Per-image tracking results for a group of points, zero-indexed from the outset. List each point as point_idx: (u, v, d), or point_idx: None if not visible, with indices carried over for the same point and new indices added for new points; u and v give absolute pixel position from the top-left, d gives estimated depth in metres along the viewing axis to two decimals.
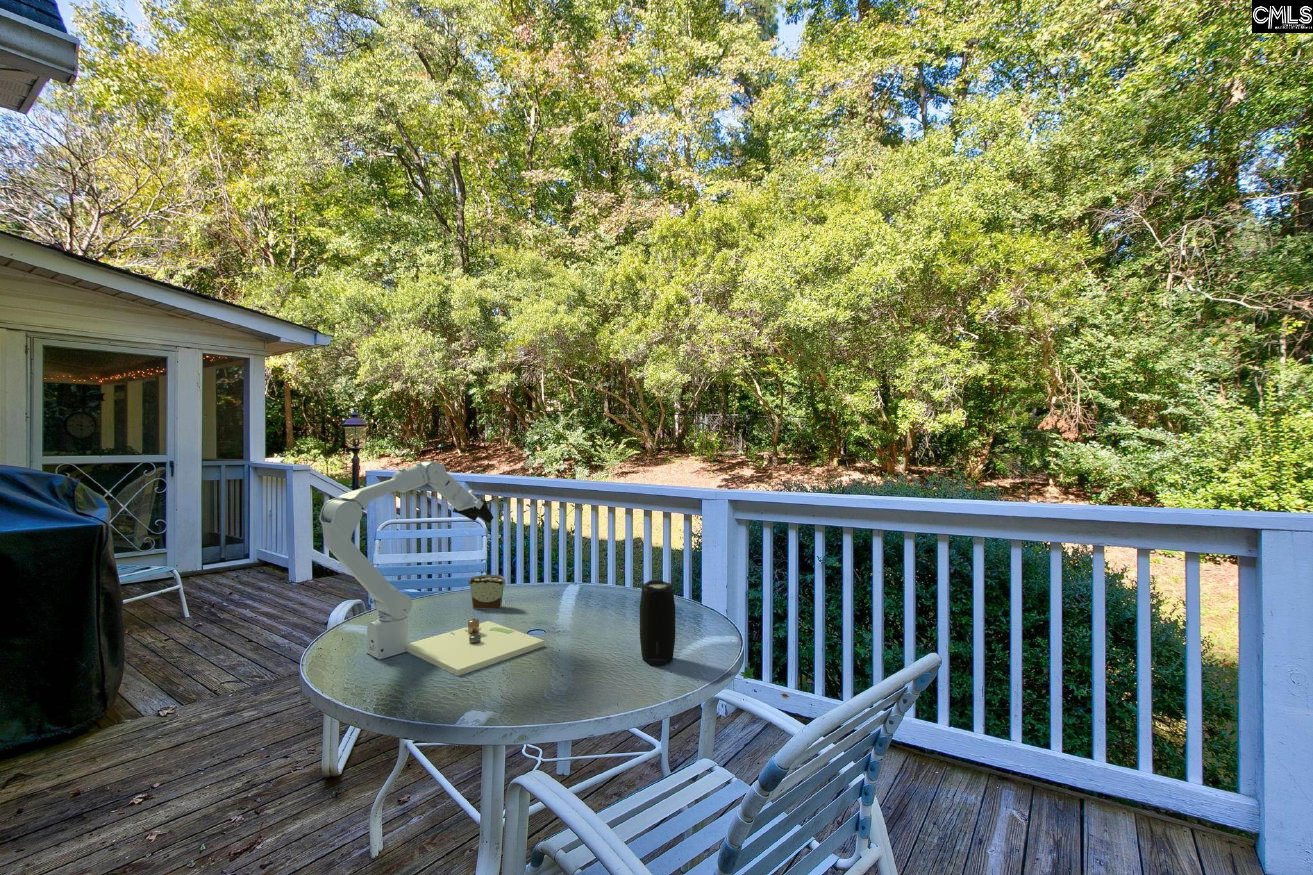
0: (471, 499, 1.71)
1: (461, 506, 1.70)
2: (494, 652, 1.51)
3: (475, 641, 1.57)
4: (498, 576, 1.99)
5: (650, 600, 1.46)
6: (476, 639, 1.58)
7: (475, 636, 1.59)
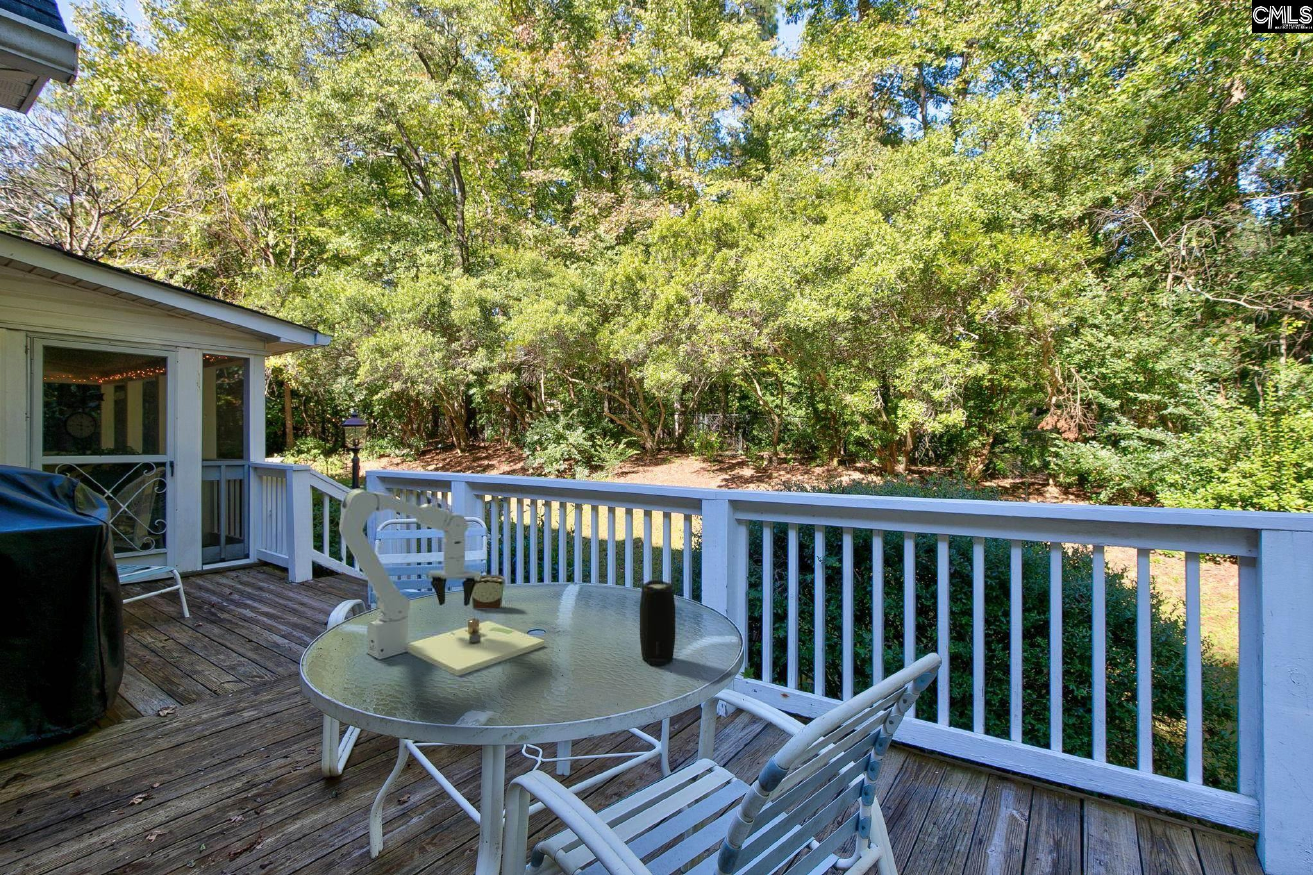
0: None
1: (456, 573, 1.64)
2: (494, 652, 1.51)
3: (475, 641, 1.57)
4: (498, 576, 1.99)
5: (650, 600, 1.46)
6: (476, 639, 1.58)
7: (475, 636, 1.59)
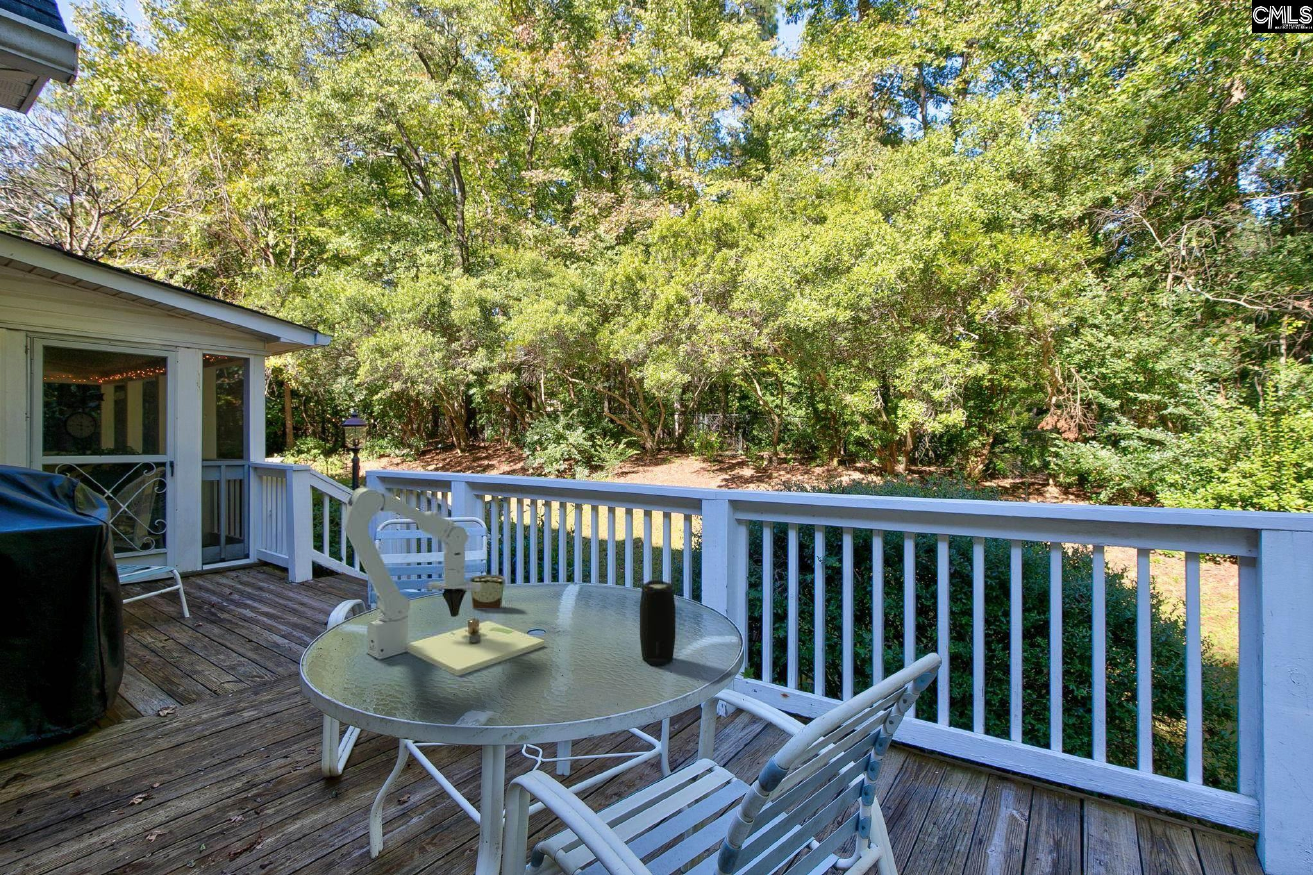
0: None
1: (457, 584, 1.64)
2: (494, 652, 1.51)
3: (475, 641, 1.57)
4: (498, 576, 1.99)
5: (650, 600, 1.46)
6: (476, 639, 1.58)
7: (475, 636, 1.59)
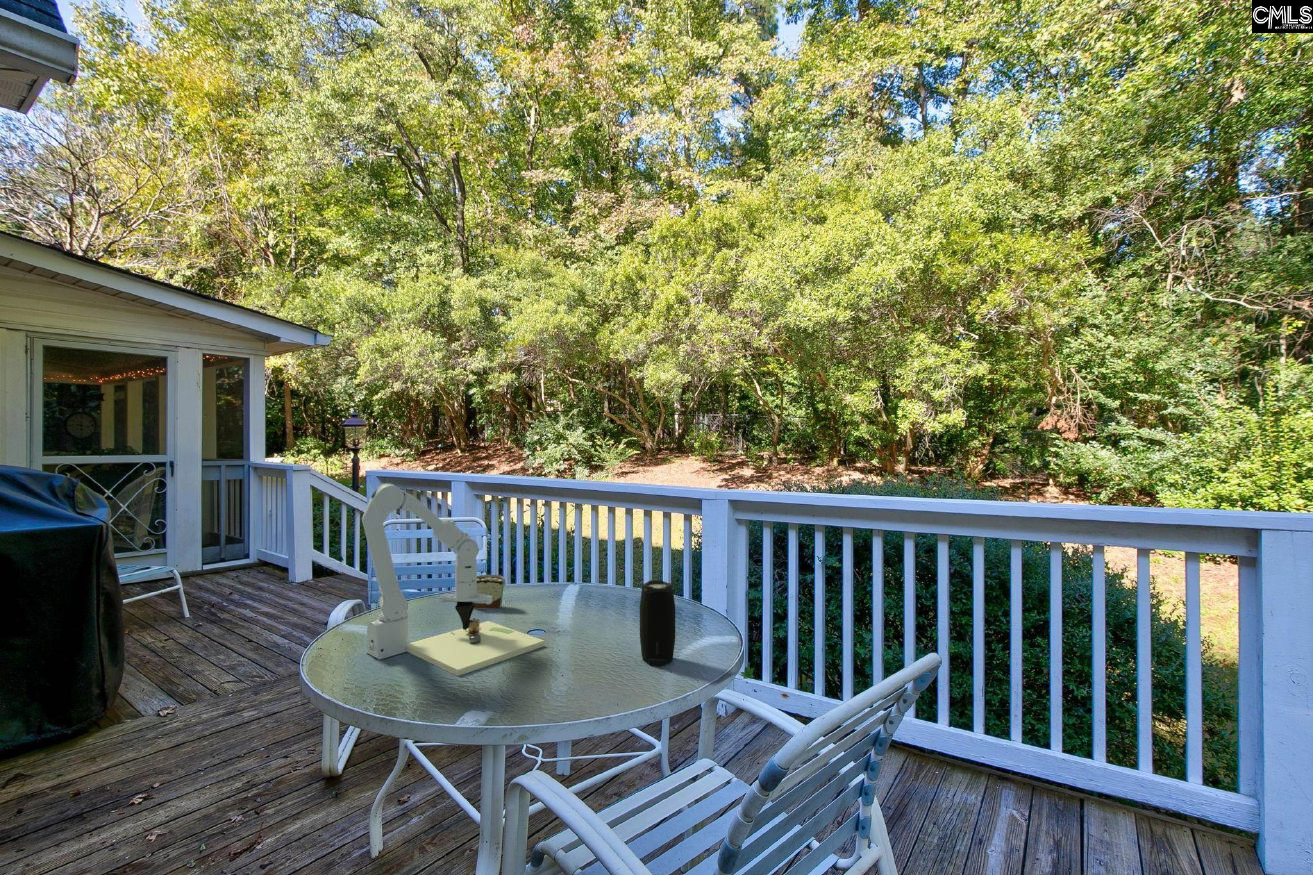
0: (477, 596, 1.67)
1: (468, 597, 1.64)
2: (494, 652, 1.51)
3: (475, 641, 1.57)
4: (498, 576, 1.99)
5: (650, 600, 1.46)
6: (476, 639, 1.58)
7: (475, 636, 1.59)
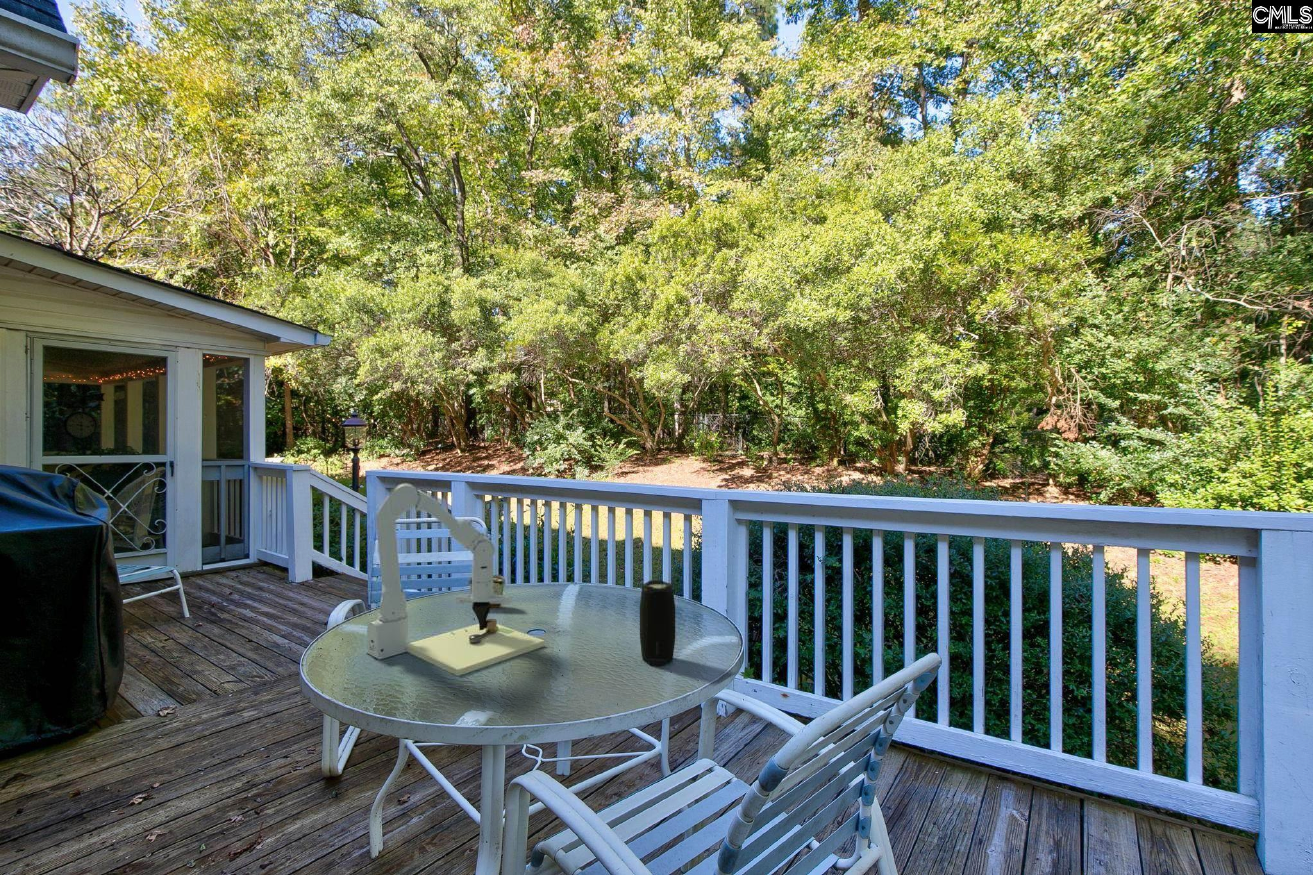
0: None
1: (485, 597, 1.64)
2: (494, 652, 1.51)
3: (471, 641, 1.57)
4: (498, 576, 1.99)
5: (650, 600, 1.46)
6: (472, 639, 1.57)
7: (474, 636, 1.59)
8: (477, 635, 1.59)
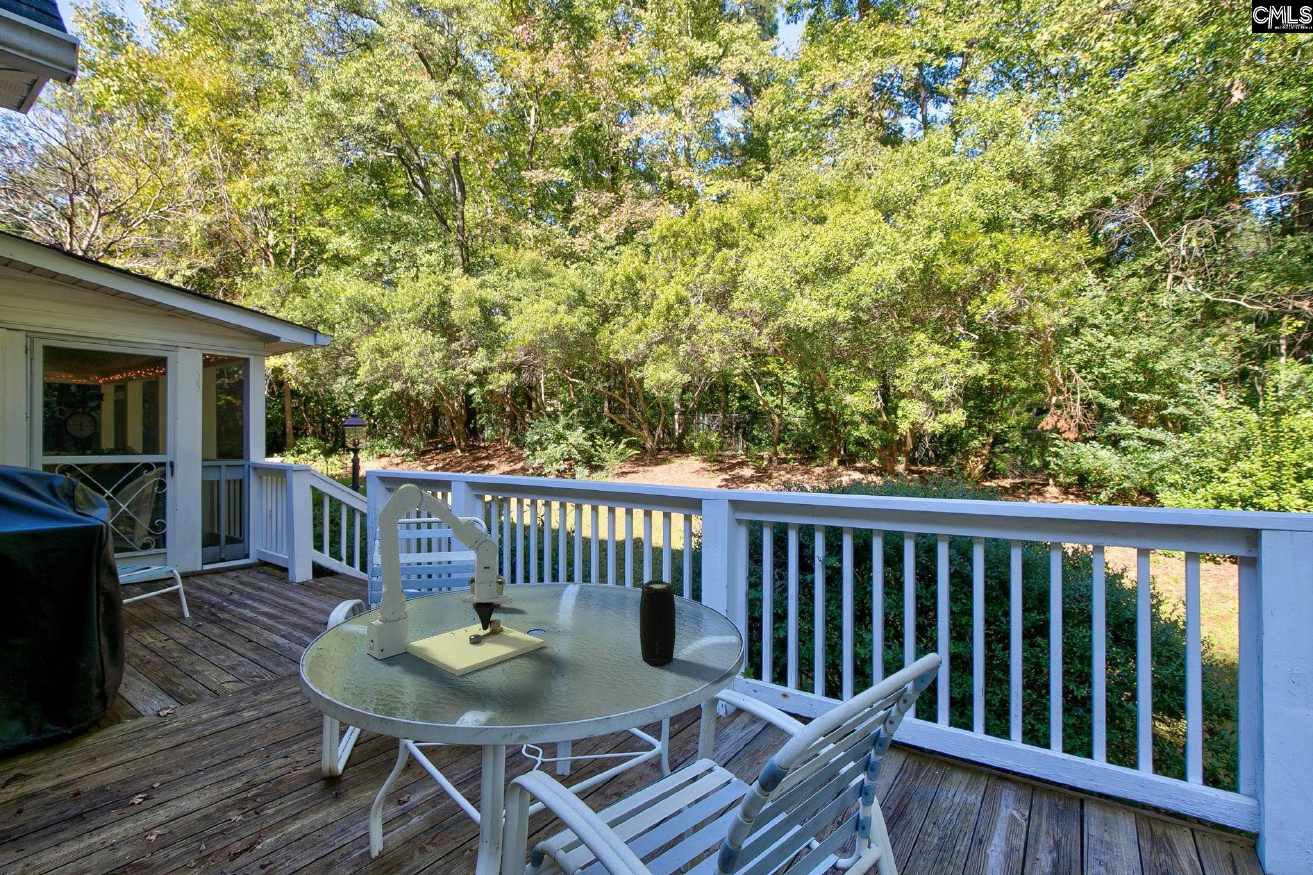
0: (497, 597, 1.67)
1: (488, 598, 1.64)
2: (494, 652, 1.51)
3: (471, 641, 1.57)
4: (498, 576, 1.99)
5: (650, 600, 1.46)
6: (472, 639, 1.57)
7: (474, 636, 1.59)
8: (477, 635, 1.59)
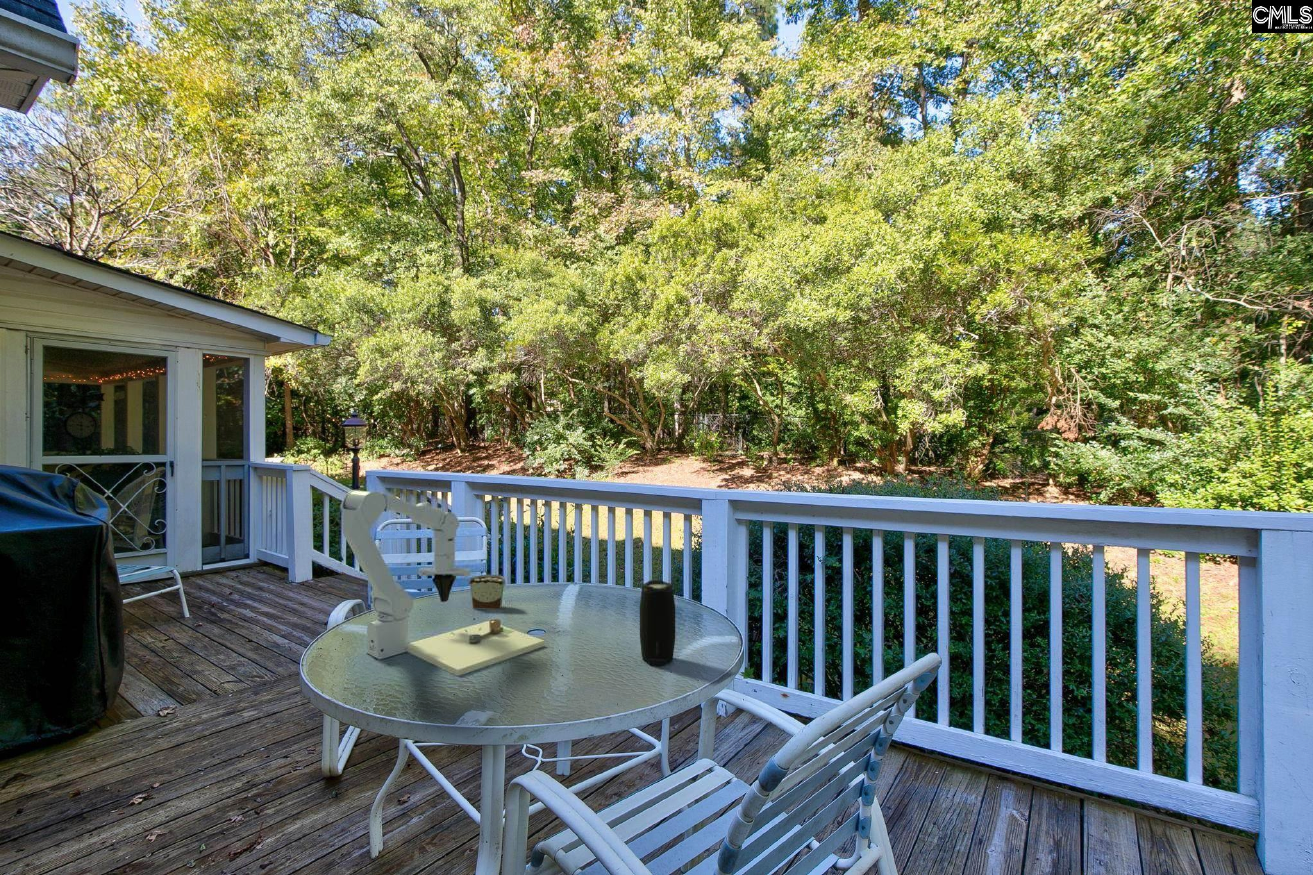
0: None
1: (446, 570, 1.68)
2: (494, 652, 1.51)
3: (471, 641, 1.57)
4: (498, 576, 1.99)
5: (650, 600, 1.46)
6: (472, 639, 1.57)
7: (474, 636, 1.59)
8: (477, 635, 1.59)
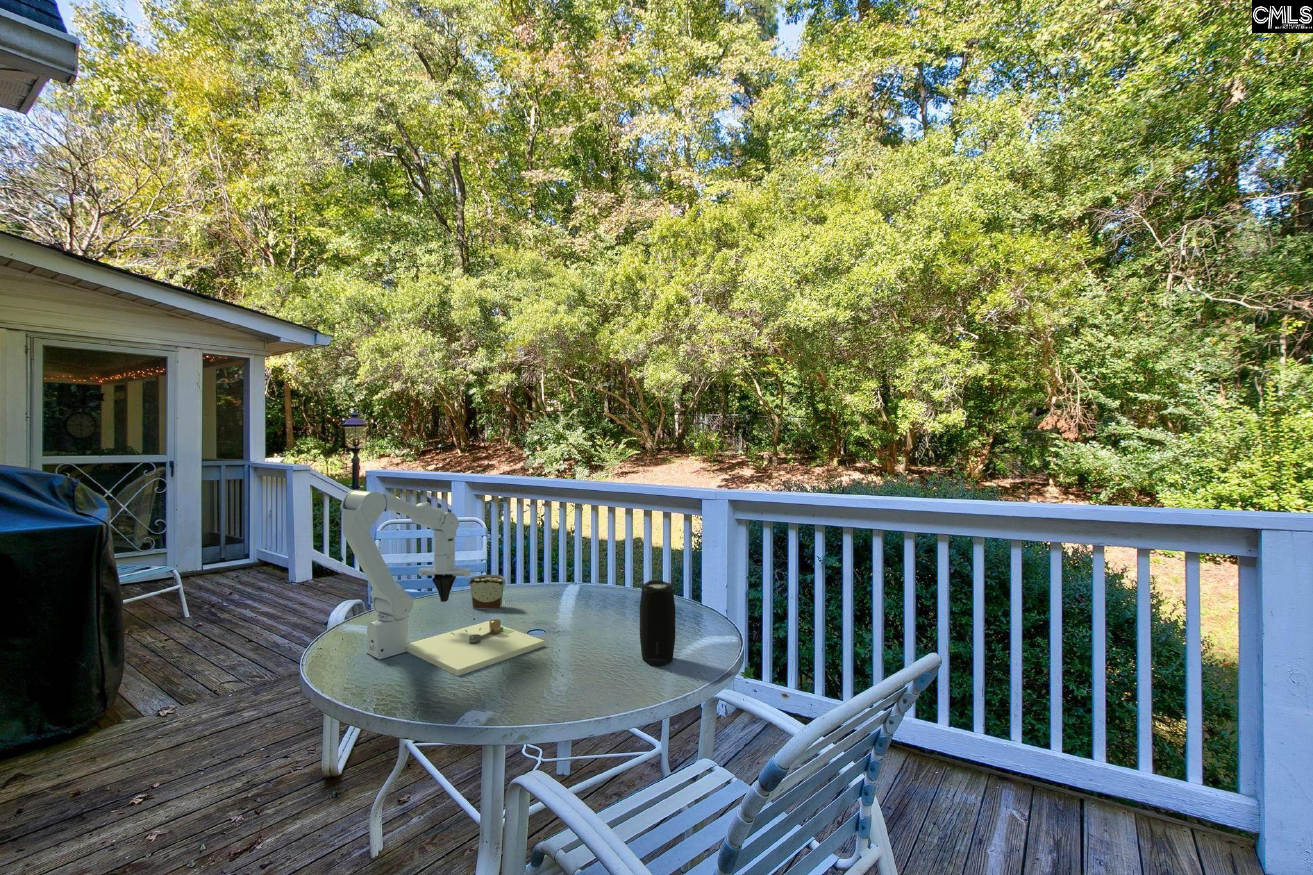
0: (455, 569, 1.71)
1: (446, 570, 1.68)
2: (494, 652, 1.51)
3: (471, 641, 1.57)
4: (498, 576, 1.99)
5: (650, 600, 1.46)
6: (472, 639, 1.57)
7: (474, 636, 1.59)
8: (477, 635, 1.59)
